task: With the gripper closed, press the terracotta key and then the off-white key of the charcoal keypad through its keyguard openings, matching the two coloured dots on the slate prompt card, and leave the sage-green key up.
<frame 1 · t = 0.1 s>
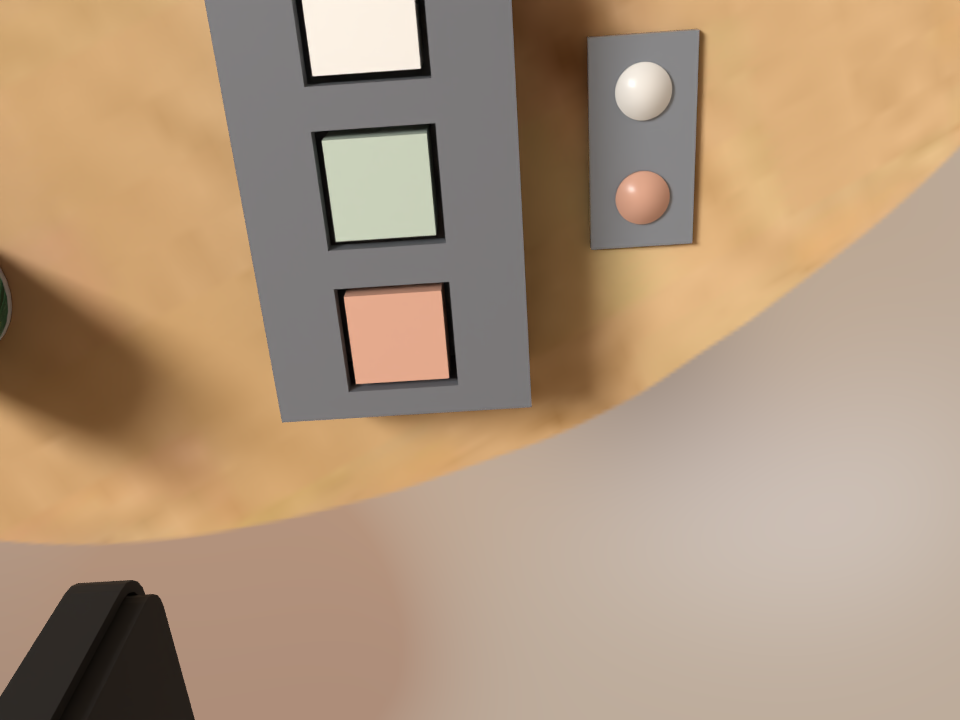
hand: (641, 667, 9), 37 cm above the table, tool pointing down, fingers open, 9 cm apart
keypad housing: (390, 160, 43), on the table
off-white key: (363, 12, 37), point 4 cm above the table, slide at 0.0 cm
terracotta key: (399, 328, 43), point 4 cm above the table, slide at 0.0 cm
prompt card: (641, 143, 43), on the table
sage key: (382, 182, 40), point 4 cm above the table, slide at 0.0 cm
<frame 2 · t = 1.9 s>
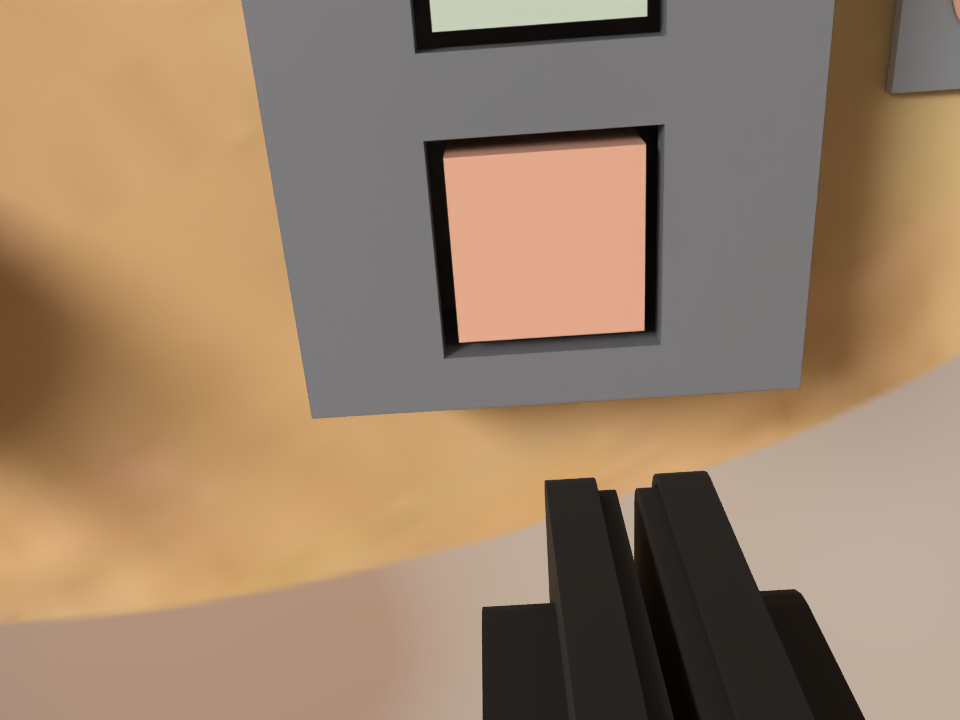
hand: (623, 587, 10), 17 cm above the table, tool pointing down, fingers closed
terracotta key: (544, 232, 22), point 4 cm above the table, slide at 0.0 cm
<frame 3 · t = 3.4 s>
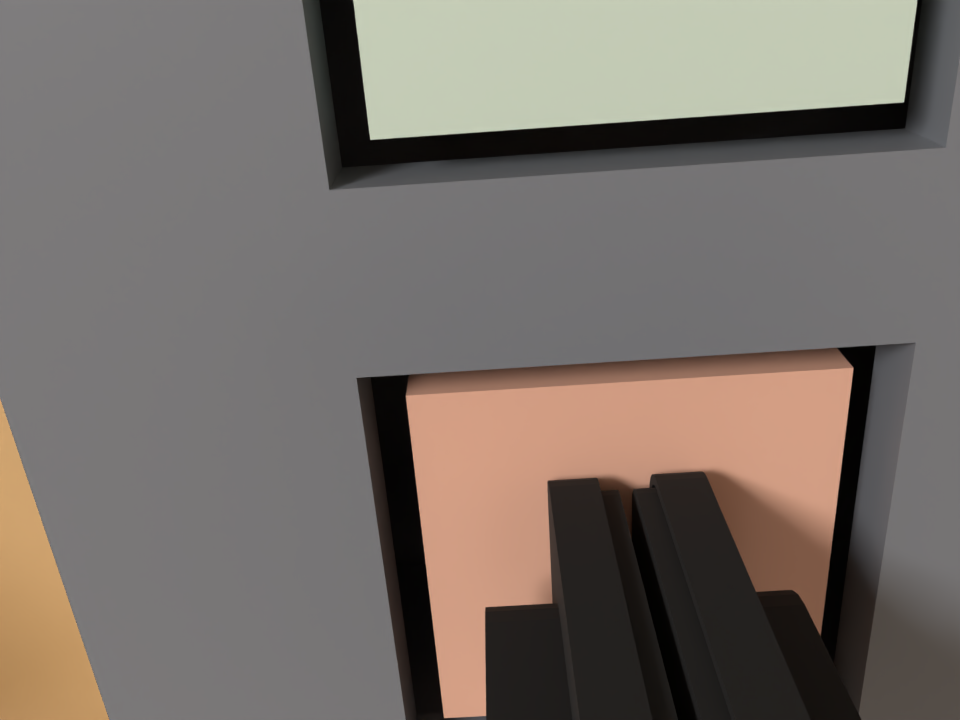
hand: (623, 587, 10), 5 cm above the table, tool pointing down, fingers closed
terracotta key: (612, 498, 11), point 4 cm above the table, slide at 0.4 cm, touching gripper
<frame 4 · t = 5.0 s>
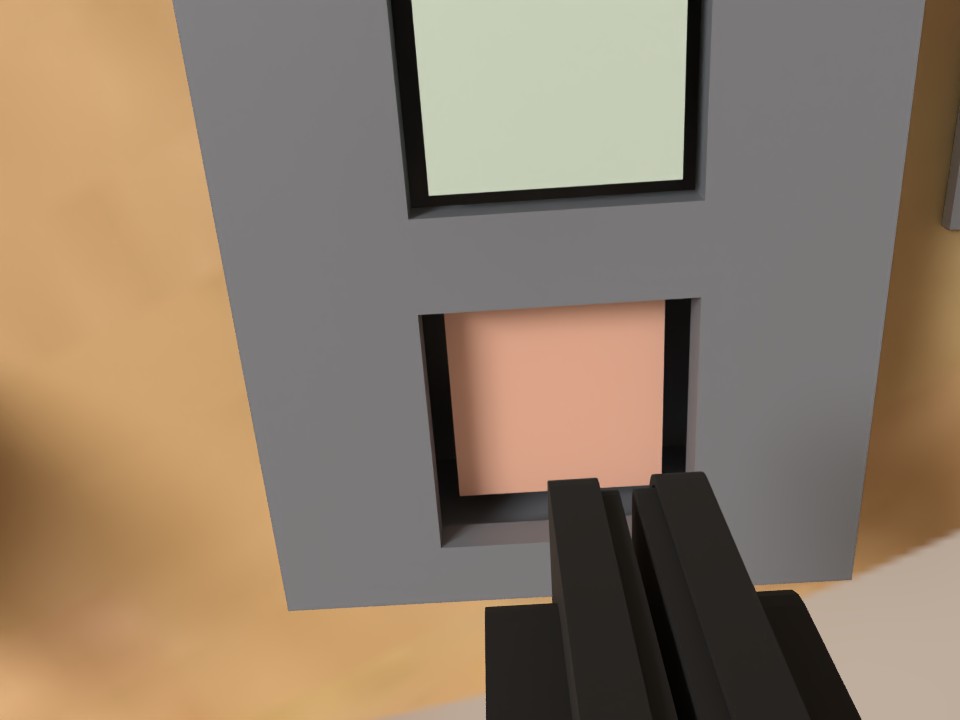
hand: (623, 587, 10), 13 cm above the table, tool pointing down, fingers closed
keypad housing: (532, 29, 20), on the table
terracotta key: (552, 375, 20), point 3 cm above the table, slide at 1.3 cm
sage key: (546, 47, 16), point 4 cm above the table, slide at 0.0 cm
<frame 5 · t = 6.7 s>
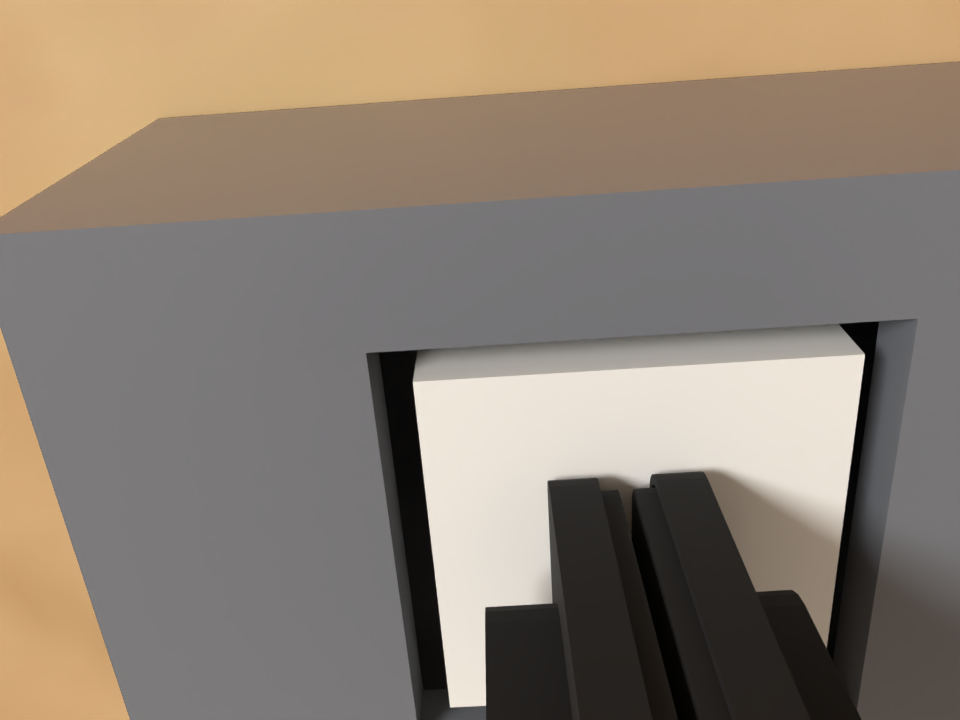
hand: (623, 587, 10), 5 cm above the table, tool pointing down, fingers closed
keypad housing: (592, 672, 18), on the table
off-white key: (620, 486, 11), point 4 cm above the table, slide at 0.1 cm, touching gripper
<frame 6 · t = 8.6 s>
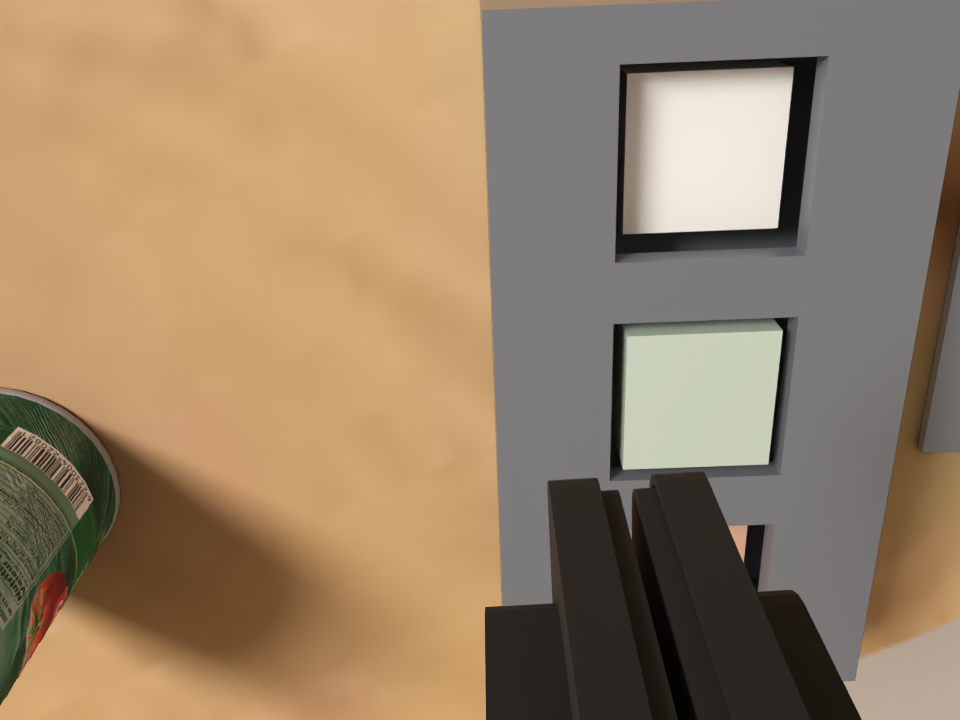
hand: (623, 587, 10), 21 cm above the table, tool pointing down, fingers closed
keypad housing: (665, 332, 31), on the table
canned tomato: (16, 476, 34), on the table
off-white key: (695, 144, 26), point 3 cm above the table, slide at 1.3 cm
terracotta key: (671, 546, 32), point 3 cm above the table, slide at 1.3 cm
sage key: (691, 384, 28), point 4 cm above the table, slide at 0.0 cm
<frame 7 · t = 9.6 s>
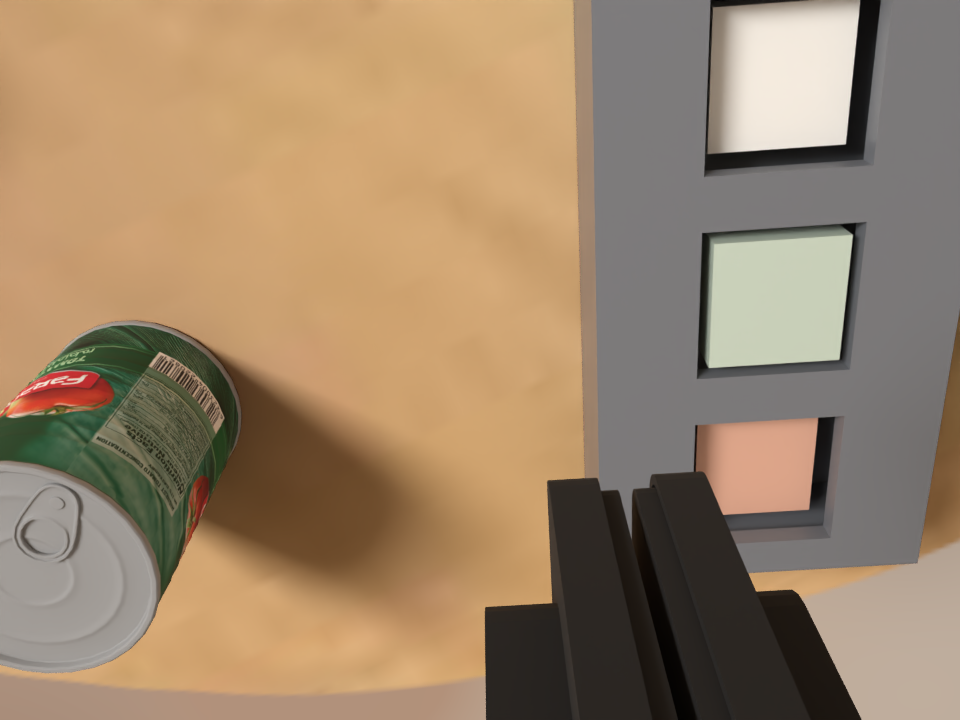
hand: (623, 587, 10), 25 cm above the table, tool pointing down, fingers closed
keypad housing: (736, 252, 35), on the table
canned tomato: (148, 404, 38), on the table
off-white key: (770, 72, 29), point 3 cm above the table, slide at 1.3 cm
terracotta key: (746, 447, 35), point 3 cm above the table, slide at 1.3 cm
sage key: (767, 290, 31), point 4 cm above the table, slide at 0.0 cm
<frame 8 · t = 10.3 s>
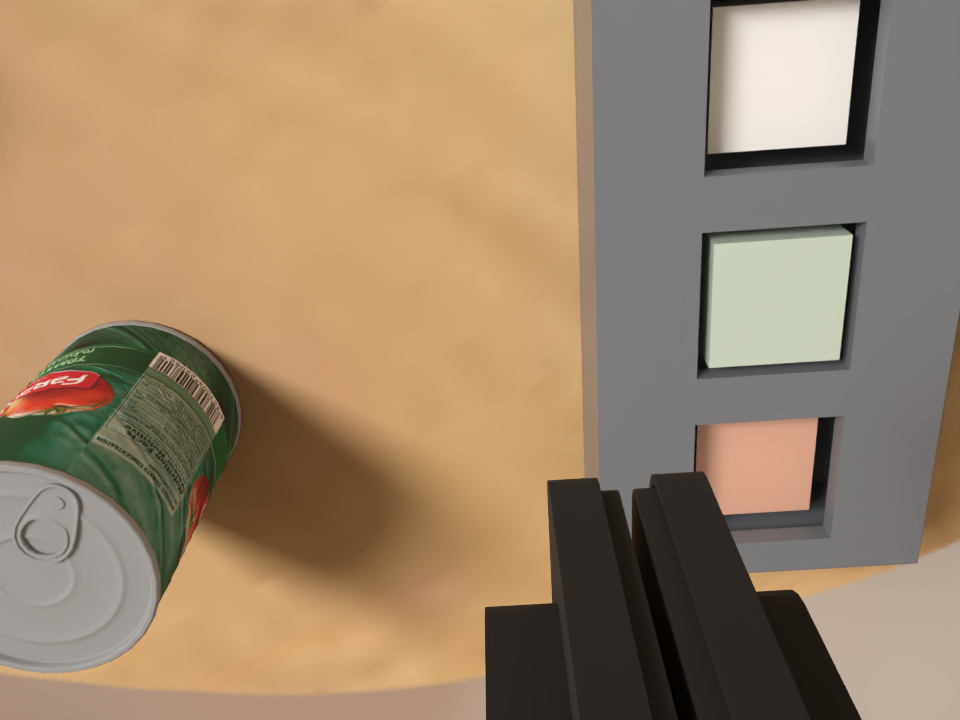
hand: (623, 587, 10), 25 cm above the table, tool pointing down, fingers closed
keypad housing: (736, 252, 35), on the table
canned tomato: (148, 404, 38), on the table
off-white key: (770, 72, 29), point 3 cm above the table, slide at 1.3 cm
terracotta key: (746, 448, 35), point 3 cm above the table, slide at 1.3 cm
sage key: (767, 290, 31), point 4 cm above the table, slide at 0.0 cm
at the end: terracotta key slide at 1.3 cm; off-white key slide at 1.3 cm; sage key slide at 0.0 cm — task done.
